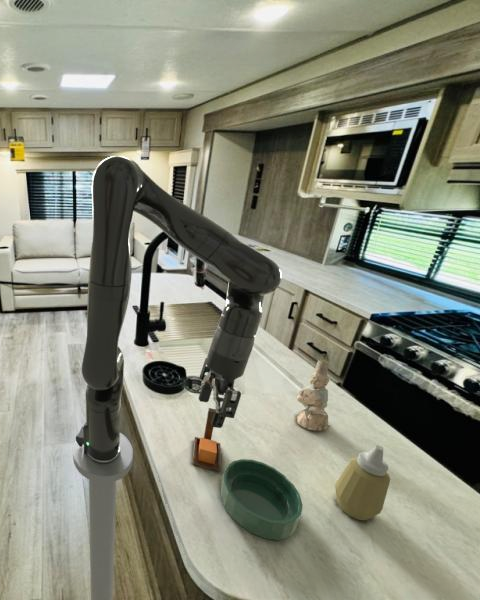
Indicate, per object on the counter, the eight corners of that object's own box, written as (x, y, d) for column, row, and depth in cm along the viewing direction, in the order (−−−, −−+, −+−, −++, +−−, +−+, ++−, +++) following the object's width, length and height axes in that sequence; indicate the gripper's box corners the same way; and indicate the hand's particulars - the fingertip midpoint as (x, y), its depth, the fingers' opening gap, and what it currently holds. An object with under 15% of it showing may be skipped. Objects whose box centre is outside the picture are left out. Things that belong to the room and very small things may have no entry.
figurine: (306, 409, 99) (323, 356, 92) (334, 428, 92) (355, 371, 84) (286, 417, 96) (302, 362, 89) (314, 437, 89) (334, 379, 81)
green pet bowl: (221, 524, 67) (224, 507, 65) (220, 467, 80) (223, 451, 78) (303, 553, 62) (310, 535, 60) (288, 487, 75) (293, 470, 73)
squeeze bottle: (325, 486, 75) (347, 428, 68) (367, 497, 72) (394, 438, 66) (337, 518, 68) (363, 457, 61) (384, 532, 65) (416, 470, 59)
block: (198, 448, 85) (200, 437, 84) (214, 452, 84) (216, 441, 82) (198, 460, 82) (199, 448, 80) (214, 464, 81) (216, 453, 79)
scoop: (194, 439, 89) (199, 405, 85) (219, 445, 87) (225, 411, 82) (192, 464, 82) (197, 428, 77) (219, 472, 79) (226, 436, 75)
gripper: (201, 332, 71) (184, 391, 77) (225, 364, 58) (202, 433, 63) (233, 337, 71) (214, 396, 77) (265, 370, 58) (239, 439, 63)
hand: (209, 413), depth 70 cm, fingers open, 8 cm apart
